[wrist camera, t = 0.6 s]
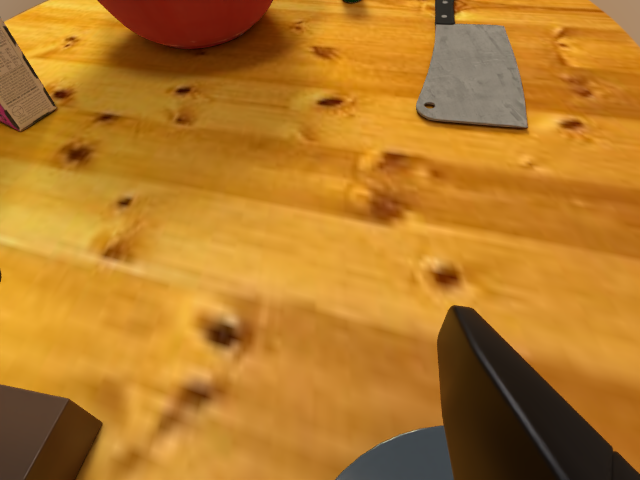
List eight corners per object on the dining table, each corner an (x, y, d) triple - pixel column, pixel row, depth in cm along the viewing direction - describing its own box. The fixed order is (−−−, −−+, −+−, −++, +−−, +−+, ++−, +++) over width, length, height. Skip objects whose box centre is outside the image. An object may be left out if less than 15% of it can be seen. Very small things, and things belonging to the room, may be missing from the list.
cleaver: (510, -12, 58) (431, -13, 60) (511, -16, 57) (431, -17, 59) (527, 130, 40) (414, 122, 42) (528, 125, 40) (414, 117, 42)
